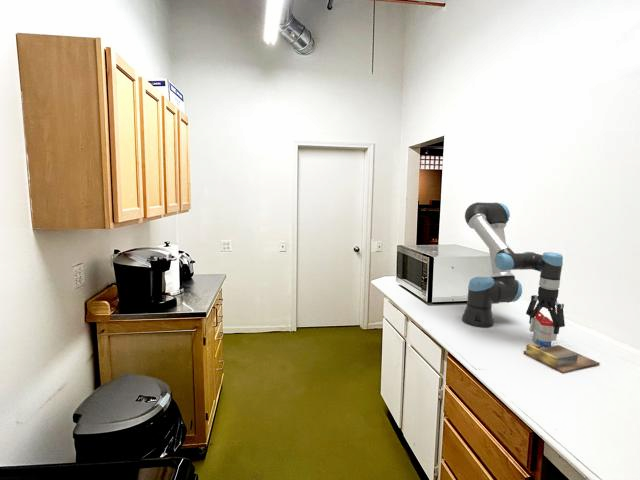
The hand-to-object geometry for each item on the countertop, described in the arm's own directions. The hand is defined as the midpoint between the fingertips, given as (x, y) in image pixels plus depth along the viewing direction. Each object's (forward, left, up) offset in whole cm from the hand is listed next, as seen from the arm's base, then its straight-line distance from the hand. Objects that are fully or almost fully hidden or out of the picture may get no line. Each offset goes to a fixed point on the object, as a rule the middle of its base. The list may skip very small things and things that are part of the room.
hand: (542, 335), depth 160 cm
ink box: (0, 0, -4) cm, 4 cm away
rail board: (+13, -6, -4) cm, 15 cm away
